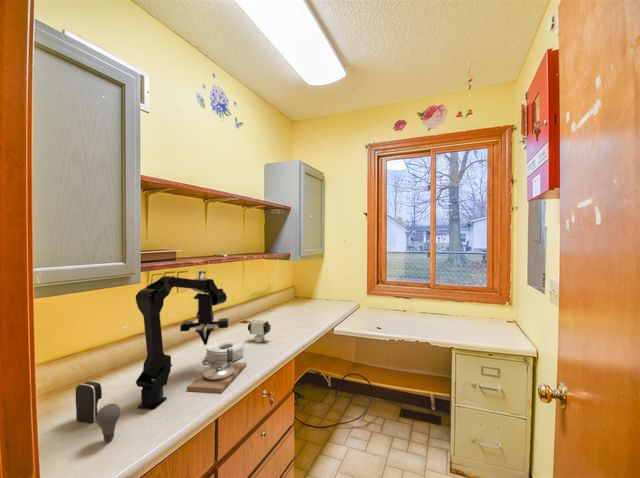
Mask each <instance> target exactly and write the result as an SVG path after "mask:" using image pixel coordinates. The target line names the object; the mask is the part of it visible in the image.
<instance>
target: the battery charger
mask: <svg viewBox="0 0 640 478" xmlns="http://www.w3.org/2000/svg"><path fill="white" fill-rule="evenodd" d="M102 393H103V392H102V385H101V383H99V382H95V381H86V382H85V381H84V382H83V383H80V384H78V385H77V386H76V387H75V410H76V412H75V413H76V414H75V415H76V416H75V417H76V419H75V420H76V421H79V422H82V423H83V422H84V423H87V424H92V423H94V422H96V416H97V413H98V404H99V401H100V400H101V399H102V398H103V397H102V395H103V394H102Z"/></svg>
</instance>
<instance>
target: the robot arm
mask: <svg viewBox="0 0 640 478" xmlns="http://www.w3.org/2000/svg"><path fill="white" fill-rule="evenodd" d="M173 288H180V289H181V288H182V289H191V290H192V291H195V292H197V293H196V295H195V296H194V297H193V300H197V311H196V319H197V322H194V320H186V321H183V322H181V324H180V327H179V328H180V330H179V331H180V332H189V331H190V330H191V329H193V328H194V329H195V331H194V333H198V336H199V337H200V338H201V341H202V342H203V345H204V346H207V345H208V342H209V338H210V335H211V333H212V332H213V331H215V328H216V327H218V328H219V329H227V328H228V327H229V324H230V322H229V321H230V320H229V318H227V317H224V318H219V319H218V321H217V320H215V319H214V318H215V317H214V314H215V313H214V311H213V307H214V306H217V305H221V304H224V303H226V301H227V300H228V299H227V298H228V297H227V296H228V295H227V294H226V292H225V291H224V288H218V287H217V285H216V284H215V281H214V279H212V278H194V279H192V278H184V277H176V276H173V275H163V276H161V277H160V278H158V279H157V280H156V281H154V282H152V283H150V284H148V285H147V286H145V287H144V288H142V289H140V290H139V291H138V292H137V293H136V295H135V301H136V306H137V309H138V310H139V311H140V313H141V315H142V317H143V324H144V334H145V336H144V337H145V344H146V355H147V356H146V358H145V359H144V362H143V369H142V372H141V373H140V375H139V376H138V378H137V379H136V381H135V384H136V386H137V387H140V388H142V389H141V390H140V391H141V392H140V394H141V397H140V398H141V403H140V404H138V405H137V409H145V410H146V409H147V410H155V409H157V407H159V406H160V405H162V403H163V402H165V401H167V396H164V387H165V386H166V385H167V383H168V380H169V376H170V373H171V370H172V367H173V365H172V356H171V355H169V354H165V352H164V346H163V343H164V342H163V335H162V323H161V312H162V309H163V308H164V302H165V298H166V297H168V296H169V295H170V293H171V290H172V289H173ZM206 328H207V329H206Z"/></svg>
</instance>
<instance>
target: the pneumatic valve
mask: <svg viewBox="0 0 640 478" xmlns="http://www.w3.org/2000/svg"><path fill="white" fill-rule="evenodd" d="M247 325H248V326H247V330H248V331H249V334H250V335H255V336H254V337H253V341H254V342H255V343H260V344H261V343H262V342H265V339H266V338H265V336H266V335H267V334H268V333H270V332H271V328H272V327H271V324H270V323H269V320H261V319H258V320H254V319H253V320H252V321H250V322H249V323H248V324H247Z"/></svg>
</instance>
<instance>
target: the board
mask: <svg viewBox="0 0 640 478" xmlns="http://www.w3.org/2000/svg"><path fill="white" fill-rule="evenodd" d="M221 363H227V362H216V363H214V364H212V365H215V364H221ZM231 364H232V365H233V366H234V373H233V375H231V376H230V377H228V378H225V379H222V380H217V381H210V380H206V379H204V377H203V373H201V374H200V375H198V377H197V378H196V379H194V380H193V381H192V382H191V383H189V384H188V385H187V386H186V392H200V393H213V394H222V393H224V391H225V390H227V388H228V387H229V386H230V385H231V384H232V383H233V382H234V381H235V379H237V377H238V376H239V375H240V374H241V373H242V372H243V370H244V369H245V368H246V367H247V362H237V361H233V362H231Z"/></svg>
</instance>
